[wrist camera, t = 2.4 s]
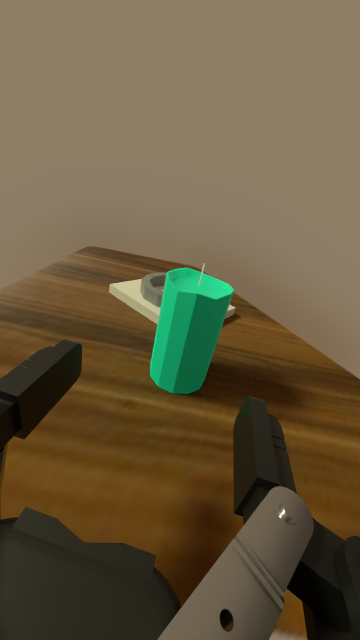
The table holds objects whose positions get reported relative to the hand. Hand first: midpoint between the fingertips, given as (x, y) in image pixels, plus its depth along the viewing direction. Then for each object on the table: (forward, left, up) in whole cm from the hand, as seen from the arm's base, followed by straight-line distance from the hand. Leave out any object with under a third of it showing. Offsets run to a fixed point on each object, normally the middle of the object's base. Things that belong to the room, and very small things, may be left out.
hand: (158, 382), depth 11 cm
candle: (+6, -10, -9) cm, 15 cm away
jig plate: (+18, -22, -9) cm, 29 cm away
